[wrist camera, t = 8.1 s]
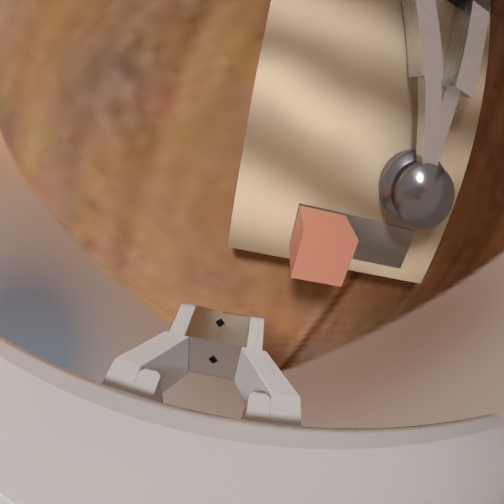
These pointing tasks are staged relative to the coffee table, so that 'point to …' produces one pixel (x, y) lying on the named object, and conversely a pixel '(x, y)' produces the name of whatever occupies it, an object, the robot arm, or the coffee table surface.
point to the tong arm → (424, 124)
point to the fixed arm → (448, 82)
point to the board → (341, 130)
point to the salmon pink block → (321, 246)
